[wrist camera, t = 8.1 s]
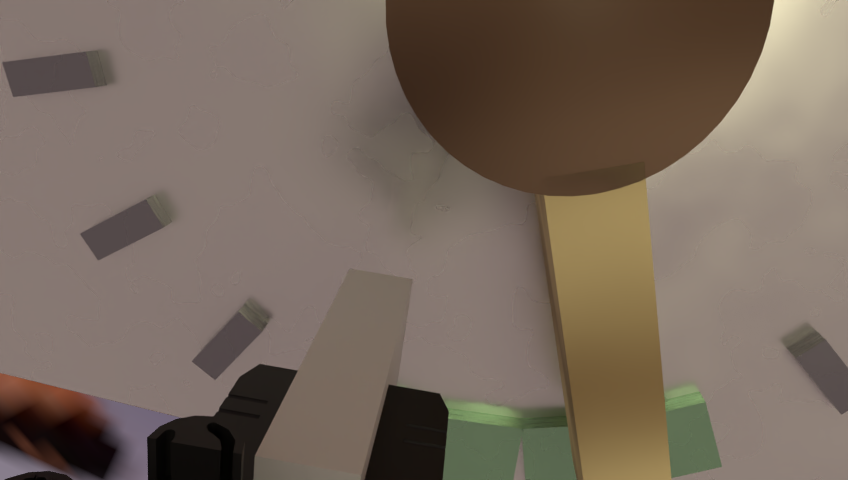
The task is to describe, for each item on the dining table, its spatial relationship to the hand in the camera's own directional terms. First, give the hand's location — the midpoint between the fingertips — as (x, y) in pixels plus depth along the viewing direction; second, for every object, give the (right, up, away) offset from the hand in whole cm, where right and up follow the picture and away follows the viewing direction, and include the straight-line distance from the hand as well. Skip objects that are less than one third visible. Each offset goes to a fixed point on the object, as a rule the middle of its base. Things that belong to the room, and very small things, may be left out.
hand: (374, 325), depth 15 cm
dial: (+5, +2, +2) cm, 6 cm away
